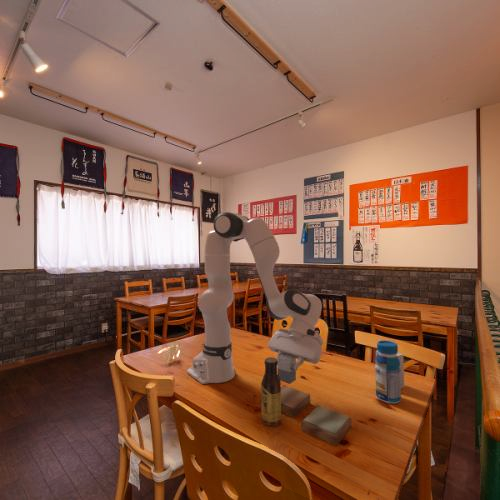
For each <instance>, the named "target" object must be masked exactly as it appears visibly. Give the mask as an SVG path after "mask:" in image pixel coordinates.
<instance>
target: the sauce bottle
mask: <svg viewBox="0 0 500 500" xmlns="http://www.w3.org/2000/svg"><path fill="white" fill-rule="evenodd" d="M264 367H265V368H264V374H263V377H262V380H261V383H260V384H261V386H260V387H261V388H260V389H261V390H260V392H261V393H260V394H261V402H260V405H261V408H260V409H261V410H260V411H261V420H262V423H263V424H264V425H266V426H270V427H275V426H278V425H280V423H281V420H282V412H281V387H282V385H281V384H282V381H280V378H279V376H278V365H277V357H270V356H269V357H266V358H264Z"/></svg>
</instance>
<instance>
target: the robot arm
mask: <svg viewBox="0 0 500 500" xmlns="http://www.w3.org/2000/svg"><path fill="white" fill-rule="evenodd" d="M240 240H245V241H246V243H247V245H248V247H249V249H250V251H251V254H252V256H253V260H254V263H255V271H256V273H257V277H258V279H259V283H260V287H261V289H262V291H263V294H264V298H265V301H266V302H265V303H266V310H267V313H268V315H269V316H270V317H271V318H272V319H275V320H277V321H283V320H285V319H286V318H288V317H290V318H292V321H291V323H290V325H289V328H288V329H284V328H279V329H277V330H275V331H274V333H273V335H272V336H271V338H270V340H269V341H268V344H267V346H268V349H269V350H270V351H271V352H273V353H276V359H277V366H278V357H279V356H281V355H282V354H287V355H290V356H293V357H296V363H295V364H294V363H293V364H292V367H291V369H292V370H294V371H296V372H297V371H298V368H299V367H301V366H302V365H303V364H304V362H307V363H310V364H314V365H317V364H318V363H319V362H320V360H321V357H322V352H323V348H322V346H323V345H324V340H323V338H322V335H320V333H319V332H317V331H316V330H315V328H316V327H315V326H316V324H317V323H319V319H320V316H321V313H322V309H323V307H322V306H323V305H322V304H323V303H322V300H321V299H320V298H319V297H317V296H316V295H315V294H312V293H303V292H301V291H300V290H298V289H296V288H289V289H287V290H285V291H282V292H280V291H279V288H278V286H277V282H276V279H275V277H274V267H275V265H276V262H277V261H278V259H279V257H280V254H281V253H280V246H279V243H278V242H277V239H276V237H275V235H274V234H273V231H272V230H271V228H270V227H269V225H268V223H267V222H266V221H265V220H264V219H263V218H261V217H253V218H251V219H249V217H247V216H245V215H242V214H240V213H237V212H230V211H226V212H221V213H219V214H218V215H216V216H215V218H214V221H213V230H210V231H209V232H208V233H207V235H206V239H205V243H204V244H205V245H204V275H205V276H206V279H207V282H208V283H207V284H208V289H205V290H204V291H203V292H202V294H201V295H200V296H199V298H198V300H197V306H198V309H199V311H200V312H201V314H202V318H203V322H204V336H205V337H204V339H205V340H204V341H205V342H204V343H201V345H200V346H201V348H202V347H203V349H202V351H200V353H199V354H197V355H196V356H194V358H193V360H192V366H190V367H189V368H188V369H187V370H186V373H187V375H189V376H191V377H192V378H194V379H195V380H196V381H198V382H199V383H200V384H203V385H205V384H221V383H225V382H228V381H231V380H233V379H234V378H235V376H236V373H235V366H234V362H233V354H232V352H233V351H232V350H233V345H232V340H231V338H232V337H231V324H230V322H229V318H228V311H227V310H228V308H229V307H230V306H231V305H232V304H233V301H234V299H235V292H234V290H233V284H232V278H231V245H232V243H234V242H235V243H236V242H239V241H240Z"/></svg>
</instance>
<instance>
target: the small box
mask: <svg viewBox="0 0 500 500" xmlns="http://www.w3.org/2000/svg"><path fill="white" fill-rule="evenodd" d="M378 353H379V352H378V350H375V357H376V356H377V354H378ZM396 356H397V357H398V359H399V361H400V366H399V367H400V369H401V374H400V385H401V389H404V388H405V369H404V364H405V363H404V354H402V353H400V352H398V353H397V355H396Z"/></svg>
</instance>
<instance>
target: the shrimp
mask: <svg viewBox="0 0 500 500" xmlns="http://www.w3.org/2000/svg"><path fill="white" fill-rule="evenodd" d="M178 343H179V341H176V342H175V343H173V344H170V345H169V346H167V347H163V348H162V349H160V350H159V352H158V353H157V355H159V354H161V353H162V350H164V351H165V353H166V354H169V355H168V356H167V358H166V360H165V361H163V363H162V365H165V366H167V365H169V363H170V362H171V361H170V360H174V359H175V358H176V357H180V354H184V352H183V351H181V350H180V346H181V345H180V344H178ZM182 352H183V353H182ZM165 357H166V355H163V356H161V359H164V358H165Z"/></svg>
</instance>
